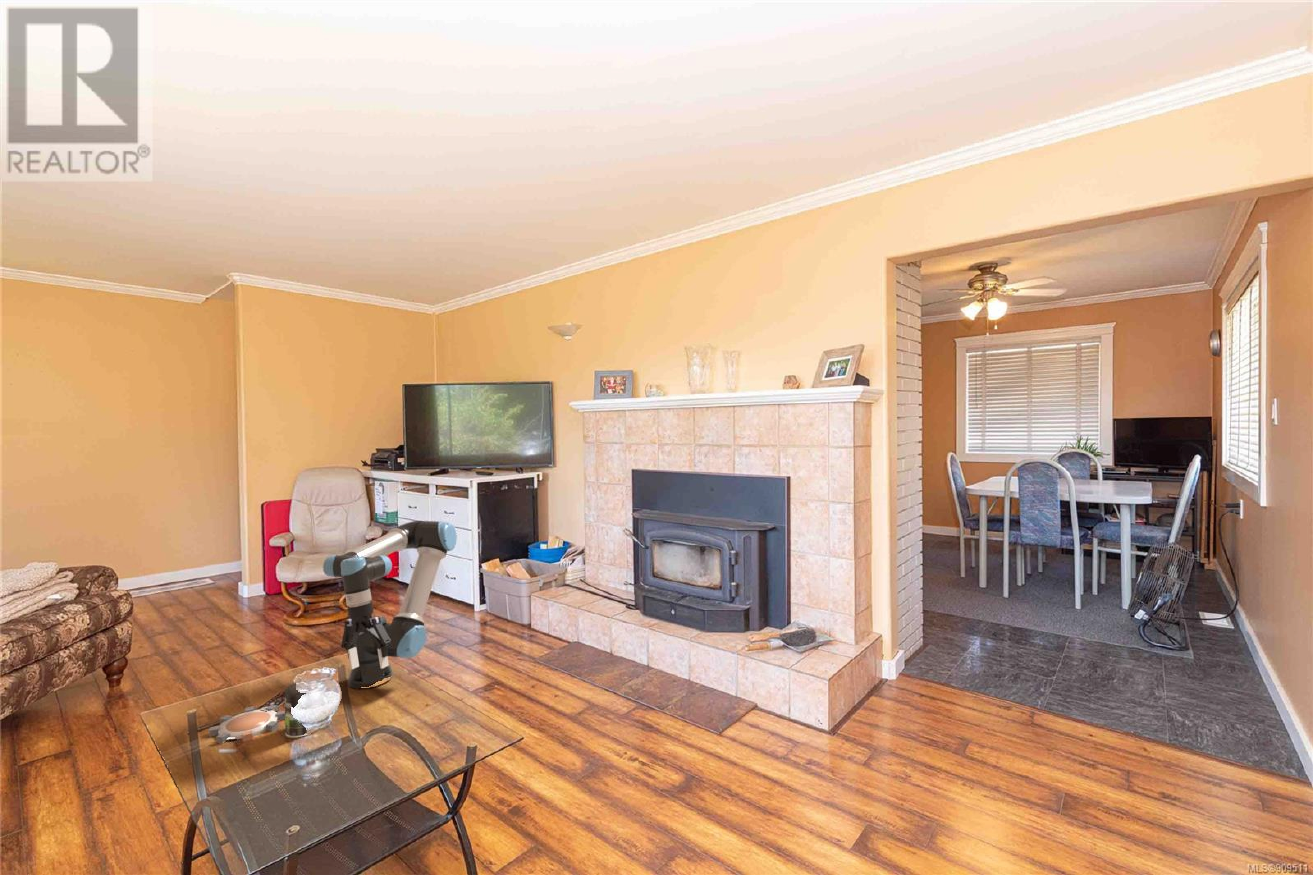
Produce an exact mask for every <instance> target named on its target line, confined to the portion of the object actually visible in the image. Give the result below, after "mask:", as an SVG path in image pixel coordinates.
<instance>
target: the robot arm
mask: <svg viewBox="0 0 1313 875" xmlns="http://www.w3.org/2000/svg"><path fill="white" fill-rule="evenodd" d="M456 531H457V530H456V528H455V526H454V524H452V523H451V522H449V521H442V520H440V521H438V520H437V521H435V520H434V521H433V520H431V521H430V520H413V521H410V522H406V523H403V524H401V525H399V526H398V525H397V526H396V527H394V528H392V529H390V530H388V531H387V533H386V534H385V535H382V536H380V537H378V538H376V539H374V540H372V541H370V542H368V543H365V544H363V545H361V546H359V547H356V548H354V549H352V550H350V551H348V552H346V553H344V554H340V555H339V554H335V555H334V554H333V555H331V554H330V555H328V556H327V557H326V558H325V559H324V562H323V564H322V569H323V573H324V574H325V576H327V577H332V578H341V579H342V583H343V589H344V594H345V603H346V606H347V608H346V609H347V616H348V619H346V620H344V630H343V636H342V640H341V644H340V647H341V648H342V649H345V650H346V654H347V658H348V660H349V664H350V665H349V667H350V672H349V675H348V678H347V679H348V683H347V684H348V686H349V687H350V688H352V689H357V690H360V689H359V688H361V687H369V686H371V685H373V684H375V683H376V682H378V681H382V680H383V679H384V678H388V677H391V676H392V677H393V669H392V666H391V664H390V661H389V657H391V658H392V657H395V658H400V659H405V658H407V659H408V658H409V659H411V658H414V657H416V656H417V655H418V654H420V653H421V651H422V650H424V647H425V645H426V642H427V637H428V635H427V634H428V631H427V628H426V627H425V623H426V622H425V621H424V619H423V616H424V613H425V610H426V607H427V604H428V601H429V598H430V595H431V592H432V588H433V586H434V585H433V584H434V582H435V579H436V575H437V572H438V569H439V566H440V563H441V560H443V559H445V558H446V556H447V553H448V552H451V551H453V550H454V549H455V546H456V545H457V539H458V538H457V537H458V536H457V535H458V534H457V532H456ZM408 549H412V550H413V549H414V550H416V552H417V553H418V557H417V560H416V562H415V566H414V569H413V572H412V575H411V578H410V581H409V584H408V587H407V589H406V593H405V595H404V598H403V601H402V604H401V607H400V611H399V613H398V614H395V615H394V616H393V617H392V620H391V623H387V622H388V620H387V617H384V616H375V617H373V615H372V614H373V613H374V607H373V602H372V599H373V598H372V593H371V588H370V582H372V581H375V580H378V579H381V578H384V577H385V576H387V575H389V574H390V572H391V571H392V568H393V563H392V561H391V559H390V557H389V555H390V554H392V553H394V552H401V551H404V550H408Z"/></svg>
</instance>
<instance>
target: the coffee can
mask: <svg viewBox="0 0 1313 875" xmlns="http://www.w3.org/2000/svg"><path fill="white" fill-rule="evenodd" d="M296 683H297V682H294V683H292V684H290V685H288V686H287V687H285V688H284V691H283V693H284V710H285V719H284V724H285V725H284V727H285V728H284V729H285V732H284V735H285V736H286V737H287V738H289V739H299V738H298V737H300V736H302V735H304V734H305V733H307V732H308V730H306V728H305V727H304V726H303V725H302V723H299V722H298V720H297V719H295V718H293V715H292V714H291V707H293V708H294V707H295V706H296V705H297V704H298V700H299V699H300V698H301V696H302V695H304V694H306V693H300V692H298V690H296ZM307 729H308V728H307Z"/></svg>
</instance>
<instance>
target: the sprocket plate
mask: <svg viewBox="0 0 1313 875" xmlns="http://www.w3.org/2000/svg"><path fill="white" fill-rule="evenodd" d="M278 708H279V705H278V704H277V705H275V704H271V705H269V706H267V707H265V709H255V706H253V705H252V706H249V707H245V710H244V712H242V713H238V714H236V715H234V716H233V715H227V714H225V715H223V716H221V717H220V718H219V725H216V726H210V727H209V728H208V729H209V730H208V735H209V736H208V737H209V738H212V737H216V738H215V739H216V744H221V743H223V742H225V740H226V739H227V738H228V737H235V738H236V739H237V740H242V743H244V742H248V741H252V740H253V737H254V736H258V735H260V734H262V733H265V732H269V733H270V732H274V731H276V730H277V729H278V728H279V722H278V721H277V720H280V721H283V720H284V721H285V709H283V710H279V709H278ZM254 709H255V710H254ZM260 710H269V711H267V712H261V711H260ZM275 710H278V711H277V712H275ZM225 743H226V742H225ZM223 744H224V743H223Z"/></svg>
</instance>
